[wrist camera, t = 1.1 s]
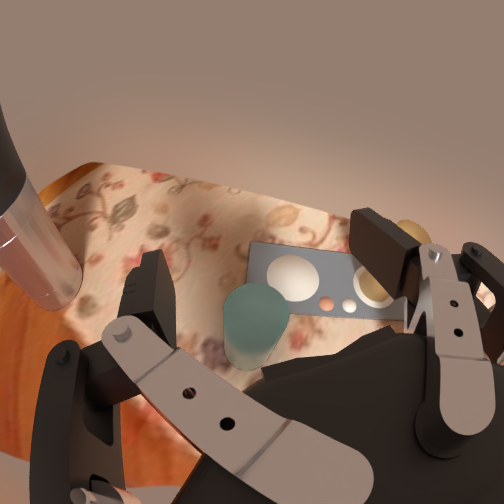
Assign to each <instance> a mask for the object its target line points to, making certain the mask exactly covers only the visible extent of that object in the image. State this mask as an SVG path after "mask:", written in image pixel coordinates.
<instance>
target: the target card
mask: <svg viewBox="0 0 504 504" xmlns="http://www.w3.org/2000/svg"><path fill="white" fill-rule="evenodd" d="M364 270H365V267H364V266H363V265H362V264H361V263H360V262H359V261H358V260H357V259H356V258H355V257H354V256H353V255H352V254H347V253H340V252H332V251H324V250H317V249H309V248H301V247H293V246H285V245H277V244H269V243H261V242H253V241H251V245H250V253H249V262H248V270H247V279H246V284H247V283H263V284H266V285H269V286H271V287H273V288H275V289H276V290H277V291H279V292H280V293H281V294H282V296H283V297H284V298H285V300H286V302H287V304H288V307H289V313H290V314H301V315H313V316H326V317H340V318H357V319H377V320H404V304H405V301H406V297H405V296H403V297H401V298H398V299H396V300H394V299H393V298H392V297H391V296H390V297H389V298H388V299H386V300H385V301H383V302H374V301H372V300H370V299H368V298H367V297H366V296H365V295H364V294H363V293H362V291H361V289H360V285H359V279H360V276H361V274H362V273H363V272H364Z"/></svg>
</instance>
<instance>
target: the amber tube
mask: <svg viewBox="0 0 504 504" xmlns="http://www.w3.org/2000/svg"><path fill="white" fill-rule="evenodd" d="M396 225H397V226H398V227H400V228H401V229H403V230H404V232H407V233H408V234H409V235H411V236H412V237H413V238H415V239H416V240H417V241H419V242H420V243H421V244H425V243H432V242H431V239H430V237H429V235H428V234H427V232H426V231H425V230H424V229H423V228H422V227H421V226H420V225H418V224H417V223H415V222H413V221H410V220H401V221H399V222H398V223H397V224H396ZM359 285H360V289H361V291H362V293H363V294H364V295H365V296H366V297H367V298H368V299H370V300H372V301H374V302H383V301H385V300H386V299H388V298H389V297H390V295H389V294H388V293H387V292H386V290H385V289H384V288H383V287H382V286H381V285H380V284H379V283H378V282H377V280H376V279H375V278H374V277H373V276H372V275H371V274H370V273H369V272H368V271H367V270H366V269H365V270H364V272H363V273H362V274H361V276H360V279H359Z"/></svg>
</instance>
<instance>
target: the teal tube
mask: <svg viewBox="0 0 504 504" xmlns="http://www.w3.org/2000/svg"><path fill="white" fill-rule="evenodd" d="M288 321H289V307H288V304H287V302H286V300H285V298H284V297H283V296H282V294H281V293H280V292H279V291H277V290H276V289H275V288H273V287H271V286H269V285H266V284H263V283H247V284H244V285H241V286H239V287H237V288H236V289H234V290H233V291H232V292H231V293H230V294H229V295H228V297H227V298H226V300H225V303H224V307H223V328H224V351H225V355H226V358H227V360H228V361H229V362H230V363H231V364H232V365H233V366H234V367H236V368H238V369H241V370H254V369H257V368H259V367H261V366H262V365H263V364H264V363H265V362H266V361H267V359H268V357H269V356H270V354H271V352H272V351H273V349H274V347H275V346H276V344H277V342H278V340H279V339H280V337H281V335H282V333H283V332H284V330H285V328H286V326H287V324H288Z"/></svg>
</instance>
